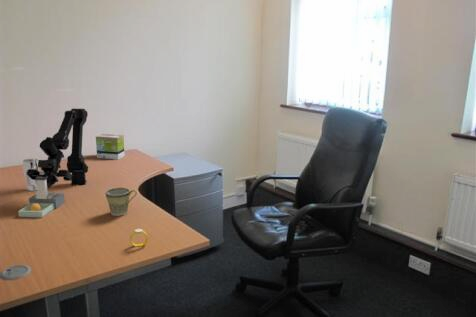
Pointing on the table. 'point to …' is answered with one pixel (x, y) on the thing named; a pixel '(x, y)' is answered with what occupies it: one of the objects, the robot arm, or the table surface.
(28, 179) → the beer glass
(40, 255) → the table surface
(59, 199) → the launcher deck
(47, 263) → the table surface
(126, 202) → the ceramic cup
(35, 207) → the ball
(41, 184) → the beige upright block
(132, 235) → the watch
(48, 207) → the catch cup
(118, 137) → the tea box
